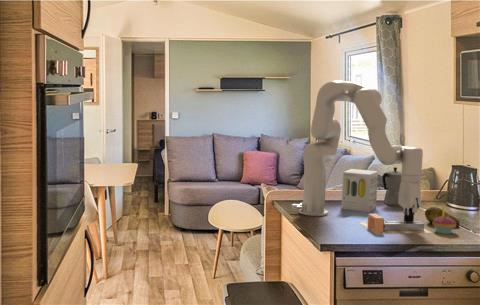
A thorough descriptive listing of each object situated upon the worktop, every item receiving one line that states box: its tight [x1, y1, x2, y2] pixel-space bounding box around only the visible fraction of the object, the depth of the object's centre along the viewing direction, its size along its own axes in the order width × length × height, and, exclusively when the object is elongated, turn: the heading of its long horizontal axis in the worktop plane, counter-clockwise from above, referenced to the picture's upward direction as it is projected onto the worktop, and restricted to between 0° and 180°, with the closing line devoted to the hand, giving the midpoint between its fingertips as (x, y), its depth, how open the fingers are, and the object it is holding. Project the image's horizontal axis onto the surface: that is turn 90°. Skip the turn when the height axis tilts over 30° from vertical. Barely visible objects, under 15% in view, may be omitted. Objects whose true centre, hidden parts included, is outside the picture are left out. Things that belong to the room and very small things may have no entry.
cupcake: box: [431, 203, 457, 235], centre depth 208 cm, size 9×8×12 cm
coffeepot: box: [381, 166, 402, 206], centre depth 266 cm, size 15×9×18 cm, turn 124°
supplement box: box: [340, 168, 379, 213], centre depth 253 cm, size 13×13×18 cm
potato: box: [424, 206, 460, 228], centre depth 220 cm, size 8×13×8 cm, turn 44°
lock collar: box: [367, 213, 385, 233], centre depth 208 cm, size 3×8×5 cm, turn 9°
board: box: [358, 221, 433, 235], centre depth 213 cm, size 23×18×1 cm
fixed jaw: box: [383, 221, 425, 231], centre depth 210 cm, size 17×4×4 cm, turn 99°
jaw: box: [385, 220, 423, 223], centre depth 211 cm, size 14×2×3 cm, turn 99°
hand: (408, 224), depth 214 cm, fingers closed
